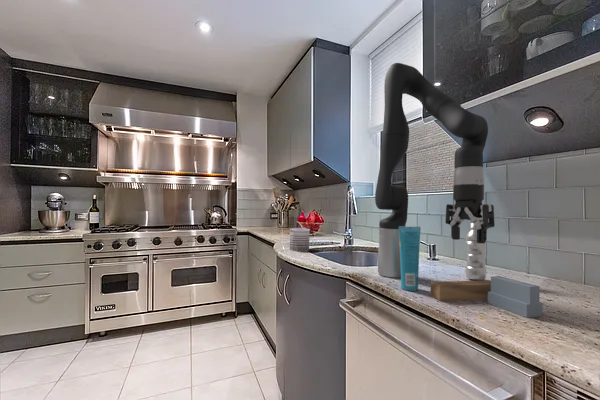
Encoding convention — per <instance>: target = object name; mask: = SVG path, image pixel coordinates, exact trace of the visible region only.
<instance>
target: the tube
mask: <svg viewBox="0 0 600 400" xmlns="http://www.w3.org/2000/svg"><path fill="white" fill-rule="evenodd" d="M399 241H400V263H401V277H400V285H401V286H400V288H401V290H405V291H413V292H415V291H419V274H420V273H419V268H420V266H419V265H420V242H421V226H406V225H405V226H399Z"/></svg>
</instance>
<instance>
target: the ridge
mask: <svg viewBox="0 0 600 400" xmlns="http://www.w3.org/2000/svg"><path fill="white" fill-rule="evenodd" d="M490 280H491V292H488V300H487V304H489V305H491V306H495V307H498V308H499V309H502V310H505V311H507V312H511V313H513V314H516V315H518V316H522V317H524V318H535V317H542V316H543V315H544V314H543V313H544V311H543V308H544V307H543V304H544V303H543V302H540V285H536V284H533V283H528V282H524V281H521V280H517V279H513V278H509V277H505V276H500V275H495V276H490Z"/></svg>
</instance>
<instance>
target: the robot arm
mask: <svg viewBox="0 0 600 400" xmlns="http://www.w3.org/2000/svg"><path fill="white" fill-rule="evenodd" d="M383 88H384V92H383V93H384V109H383V110H384V112H383V113H384V115H383V127H382V128H383V129H382V136H381V148H380V161H379V170H378V176H377V181H376V188H375V196H374V200H375V201H374V203H375V205H376V208H377V209H379V210H382V211H383V210H386V211H387V210H388V211H391V214H389V216H387V217H385V218H383V219H381V220H379V224H378V225H379V227H378V228H379V229H378V230H379V232H378V236H379V237H378V248H377V251H378V252H377V273H378V275H380V276H383V277H388V278H396V279H397V278H399V279H400V278H401V263H400V241H399V226H406V225H407V221H408V210H409V209H408V208H409V193H408V190H407V187H406V186H404V185H398V184H396V185H395V184H391V180H392V177H393V174H394V171H395V169H396V167H397V166H398V165H399V163H400V162H401V161H402V160H403V158H404V156H405V155H406V153H407V151H408V147H409V141H410V128H409V123H408V120H407V117H406V114H405V111H404V107H403V95H407V96H410V97H413V98H414V99H416V100H418V101H419V102H420V103H421V105H422V106H423V108H424V110H425V111H426V112H427V113H428V114H429V115H431V116H432V117H433V118H434V119H436V120H437V121H439V122H440V123H441V124H442V125H443V127H444V128H445V129H446V130H447V131H448V132H449V133H451V134H452V135H454V136H455V137H457V138H460V139H462V141H461V147H459V148H457V149H456V150H455V152H454V163H453V164H454V171H453V176H452V178H453V179H452V180H453V185H452V190H453V191H452V195H453V196H452V197H453V198H452V199H453V201H455V202H454V203H455V204H450V203H449V204H448V203H447V204H446V206H445V224H446V225H449V226H450V228H451V230H450V231H451V233H450V234H451V235H450V236H451V239H452V240H460V239H461V227H460V225H461V224H462V223H463V222H464V221H465V220H467V221H468V220H469V221H471V223H475V225H476V226H477V228H478V229H477V243H485V241H486V242H487V237H488V235H487V234H488V233H487V232H488V231H487V230H488V229H490V228H494V227H495V226H496V225H495V211H494V210H495V206H494V205H493V204H488V203H487V204H485V203H484V204H483V203H482V202H483V200H485V173H484V150H485V147H486V143H487V139H488V136H489V135H488V134H489V124H488V121H487V120H486V118H485V117H483V116H481V115H479V114H476V113H473V112H471V111H469V110H467V109H466V108H464V107H462V105H461V104H460V103H459V102H458V100H456V99H454V98H452V97H451V96H450V95H448V94H446V93H445V92H443V91H442V90H441V89H438V88H437V86H434V85H433V84H432V83H431V82H430V81H428V79H427V78H426V77H425V76H424V75H423V74H422V73H421V72H420V71H419V70H418V69H417V68H416V67H414V66H412V65H408V64H404V63H402V62H395V63H392V64H391V65H390V66H389V67H388V69H387V71H386V73H385V76H384V87H383Z"/></svg>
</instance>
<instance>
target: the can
mask: <svg viewBox="0 0 600 400" xmlns="http://www.w3.org/2000/svg"><path fill="white" fill-rule="evenodd" d="M310 231H311V230H310V228H306V227H304V228H303V227H294V228H293V227H292V228H290V229H289V251H292V252H308V251H310Z"/></svg>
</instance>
